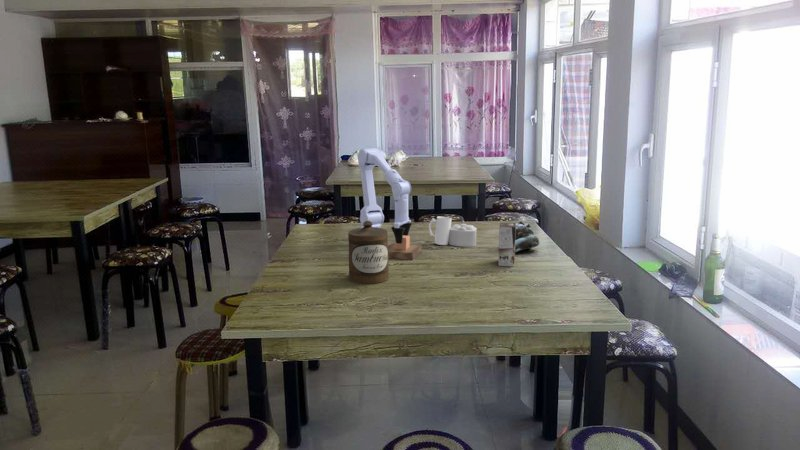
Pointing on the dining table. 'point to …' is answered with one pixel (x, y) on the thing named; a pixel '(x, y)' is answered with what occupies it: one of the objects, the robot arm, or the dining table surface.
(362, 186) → the robot arm
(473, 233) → the lumpy-topped squat cylinder
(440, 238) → the mug
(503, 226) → the coffee box
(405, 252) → the walnut base
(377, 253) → the wooden container
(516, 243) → the lucky cat figurine
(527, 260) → the dining table surface
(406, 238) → the terracotta cube
